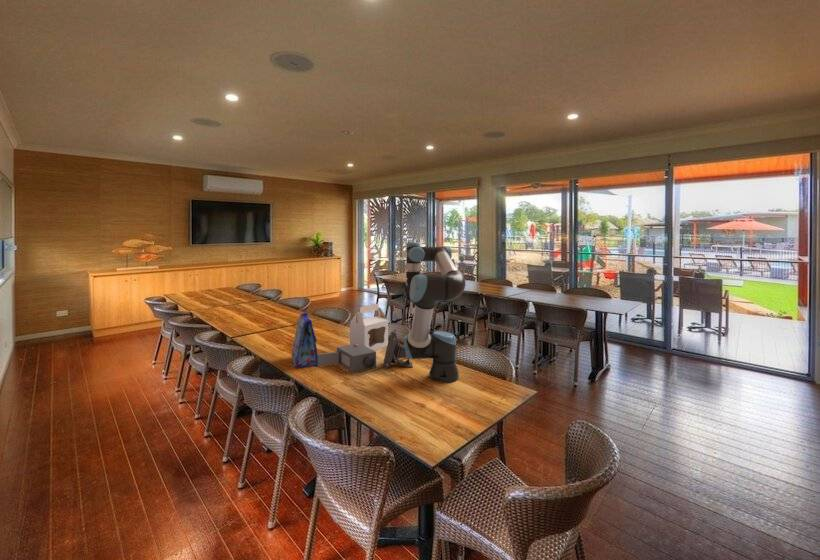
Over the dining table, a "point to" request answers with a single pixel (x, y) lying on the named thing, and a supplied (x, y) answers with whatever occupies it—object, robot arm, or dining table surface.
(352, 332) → the gable box
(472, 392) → the dining table surface
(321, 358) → the side door
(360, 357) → the box
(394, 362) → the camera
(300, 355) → the lunch bag
